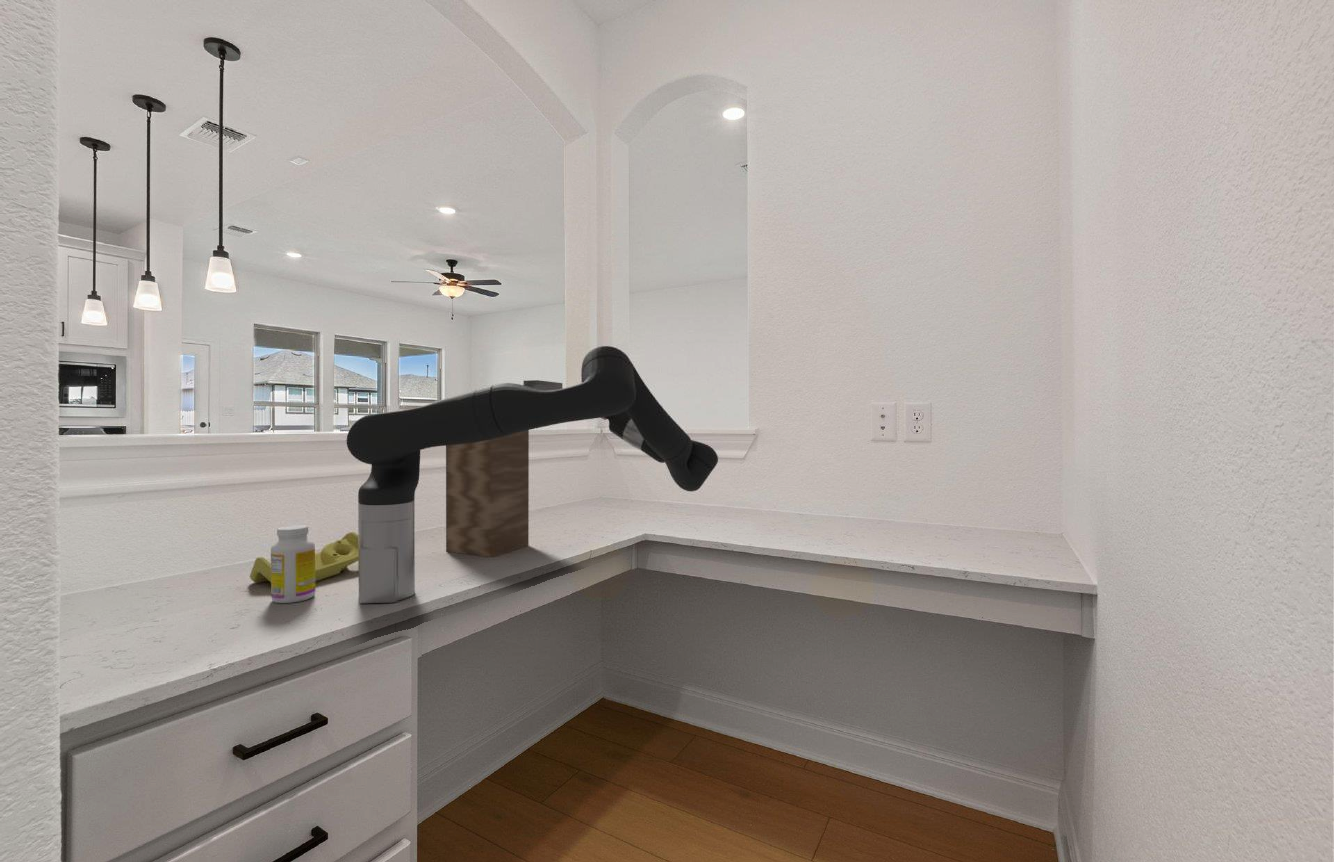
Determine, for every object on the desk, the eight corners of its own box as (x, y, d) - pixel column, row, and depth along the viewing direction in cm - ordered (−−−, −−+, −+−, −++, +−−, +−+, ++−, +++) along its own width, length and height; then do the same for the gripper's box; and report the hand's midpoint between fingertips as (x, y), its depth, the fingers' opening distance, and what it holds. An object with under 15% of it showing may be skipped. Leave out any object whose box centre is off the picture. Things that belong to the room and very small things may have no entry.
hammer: (610, 402, 135) (610, 381, 135) (588, 401, 126) (588, 378, 126) (548, 403, 142) (548, 383, 142) (523, 402, 133) (523, 380, 133)
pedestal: (528, 545, 148) (528, 428, 147) (491, 557, 135) (491, 429, 134) (485, 540, 153) (485, 428, 153) (446, 551, 140) (445, 428, 140)
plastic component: (285, 580, 107) (253, 552, 110) (277, 612, 109) (246, 584, 112) (378, 550, 125) (348, 527, 128) (370, 578, 126) (341, 555, 130)
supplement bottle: (319, 591, 107) (318, 523, 107) (310, 602, 101) (310, 529, 101) (277, 595, 105) (276, 525, 105) (265, 606, 99) (265, 531, 98)
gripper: (612, 442, 121) (552, 402, 127) (641, 440, 134) (586, 404, 140) (627, 412, 120) (567, 372, 126) (655, 413, 133) (599, 377, 139)
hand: (577, 389), depth 133 cm, fingers closed on hammer, 3 cm apart
